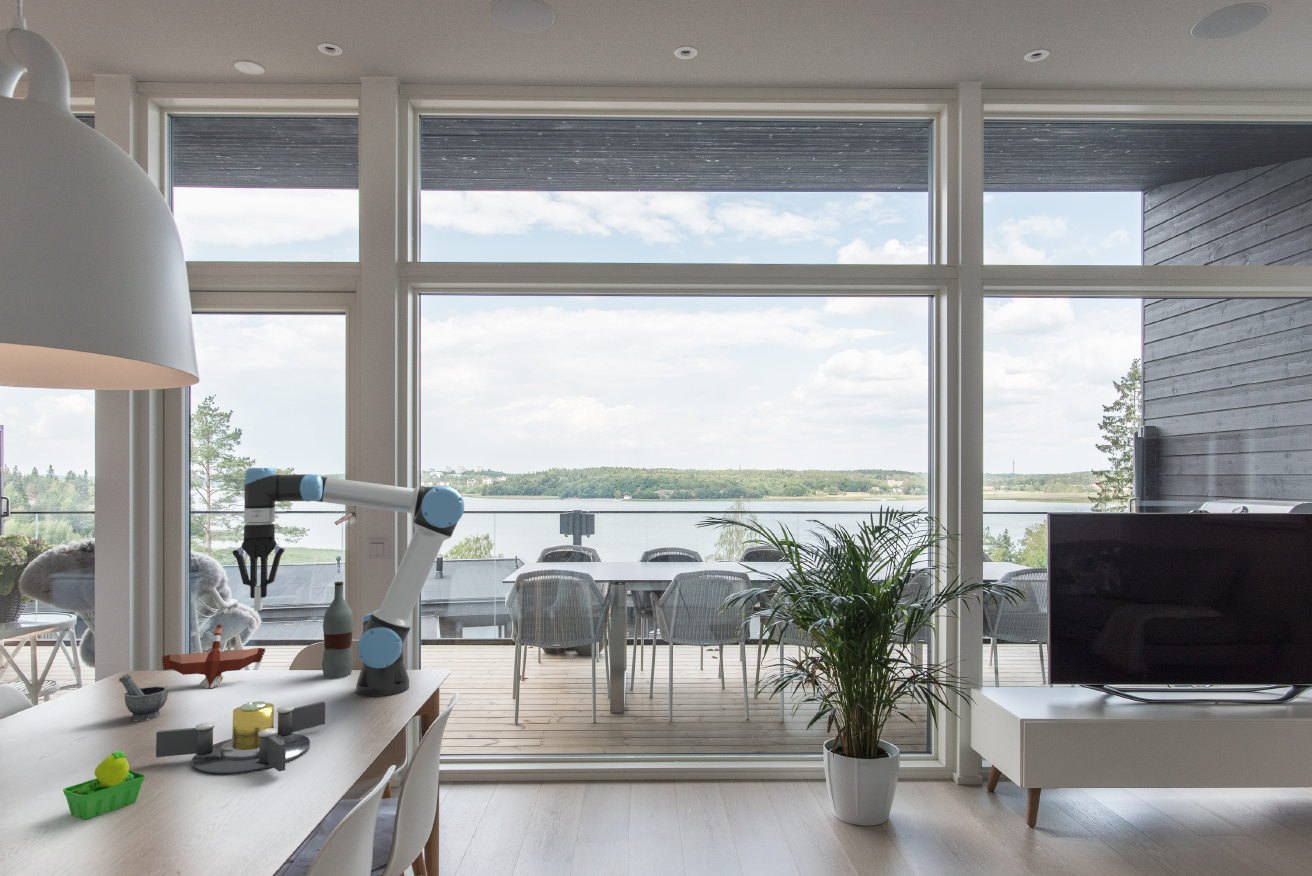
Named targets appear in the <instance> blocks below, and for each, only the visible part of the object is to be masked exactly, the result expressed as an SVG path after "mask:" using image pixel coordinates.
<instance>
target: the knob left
mask: <svg viewBox="0 0 1312 876" xmlns="http://www.w3.org/2000/svg"><path fill="white" fill-rule="evenodd" d="M277 732H278V728H269V729H264V730H261V731H259V732H258V736H260V741H259V762H261V763H267V762H268V763H269V764H270V765H271V766H273V768H274V769H275V770H277V771H278V772H283V771H286V764H285V755H286V744H285V743H284V742H282V741H281V740H279V739H278V738H277V737H276V734H277Z"/></svg>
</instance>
